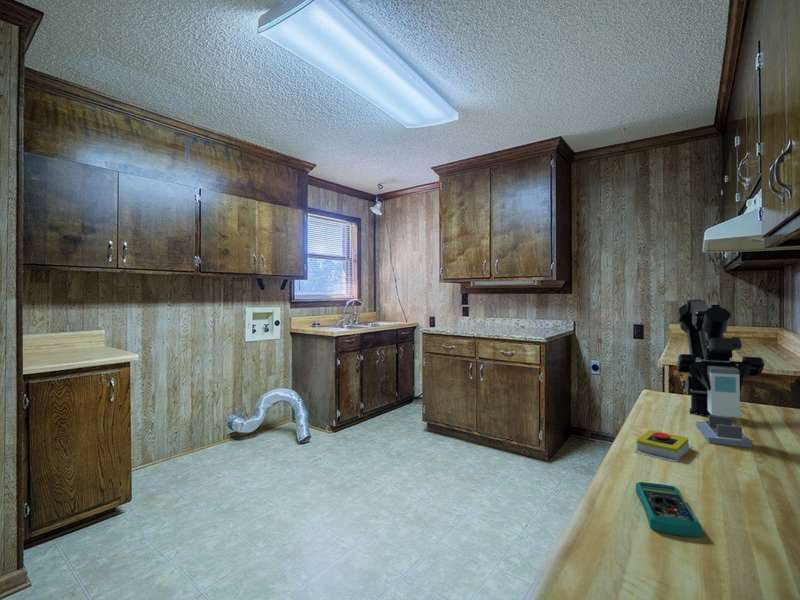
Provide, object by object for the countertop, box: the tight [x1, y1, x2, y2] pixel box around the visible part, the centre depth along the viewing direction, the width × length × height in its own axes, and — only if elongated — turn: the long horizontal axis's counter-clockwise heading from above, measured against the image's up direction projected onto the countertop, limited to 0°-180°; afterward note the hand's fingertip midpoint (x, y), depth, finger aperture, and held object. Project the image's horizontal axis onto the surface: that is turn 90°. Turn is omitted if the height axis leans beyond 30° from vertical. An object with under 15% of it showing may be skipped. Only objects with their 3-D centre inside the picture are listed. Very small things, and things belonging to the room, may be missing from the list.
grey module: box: [707, 366, 741, 419], centre depth 110 cm, size 5×6×12 cm
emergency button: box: [633, 429, 692, 463], centre depth 104 cm, size 9×4×15 cm
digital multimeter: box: [635, 481, 703, 538], centre depth 74 cm, size 7×15×3 cm, turn 159°
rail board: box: [695, 420, 753, 449], centre depth 112 cm, size 15×9×2 cm, turn 154°
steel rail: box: [703, 420, 742, 441], centre depth 112 cm, size 15×5×1 cm, turn 154°
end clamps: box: [708, 415, 743, 439], centre depth 110 cm, size 10×5×3 cm, turn 154°
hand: (724, 390), depth 109 cm, fingers closed on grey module, 6 cm apart
